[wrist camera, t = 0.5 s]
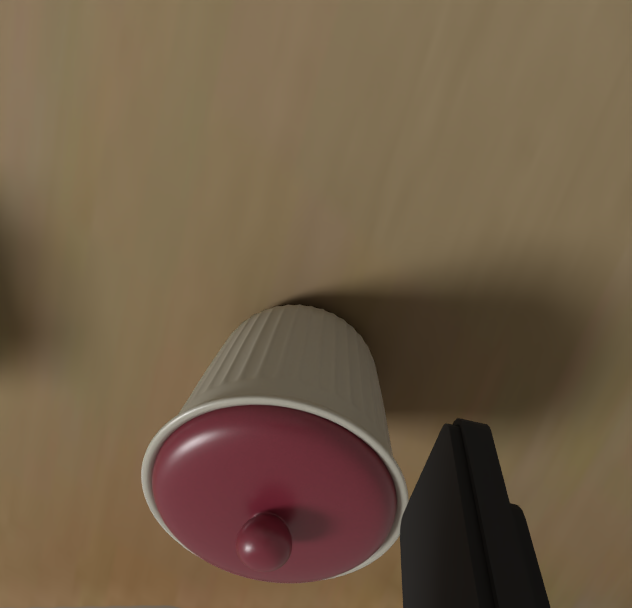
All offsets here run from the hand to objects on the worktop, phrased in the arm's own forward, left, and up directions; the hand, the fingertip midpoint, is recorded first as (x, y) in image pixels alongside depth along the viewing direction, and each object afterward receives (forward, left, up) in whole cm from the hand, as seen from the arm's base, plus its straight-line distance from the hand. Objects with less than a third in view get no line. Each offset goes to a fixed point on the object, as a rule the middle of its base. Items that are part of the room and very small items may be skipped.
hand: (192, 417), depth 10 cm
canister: (+22, +9, -34) cm, 41 cm away
